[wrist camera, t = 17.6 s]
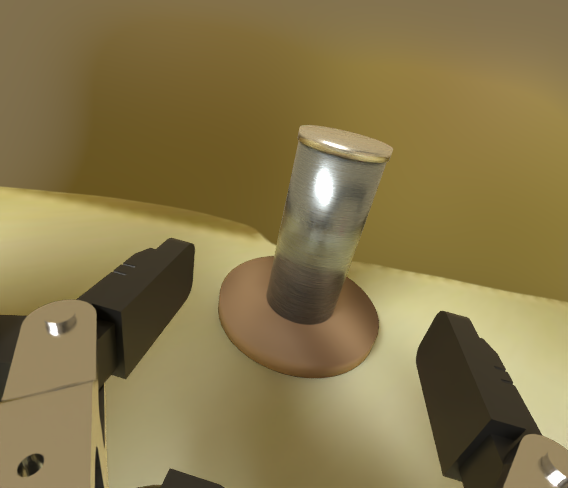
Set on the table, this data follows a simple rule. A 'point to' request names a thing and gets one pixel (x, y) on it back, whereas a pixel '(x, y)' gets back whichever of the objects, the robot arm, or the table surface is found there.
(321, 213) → the grey can
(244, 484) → the table surface
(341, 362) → the disc
